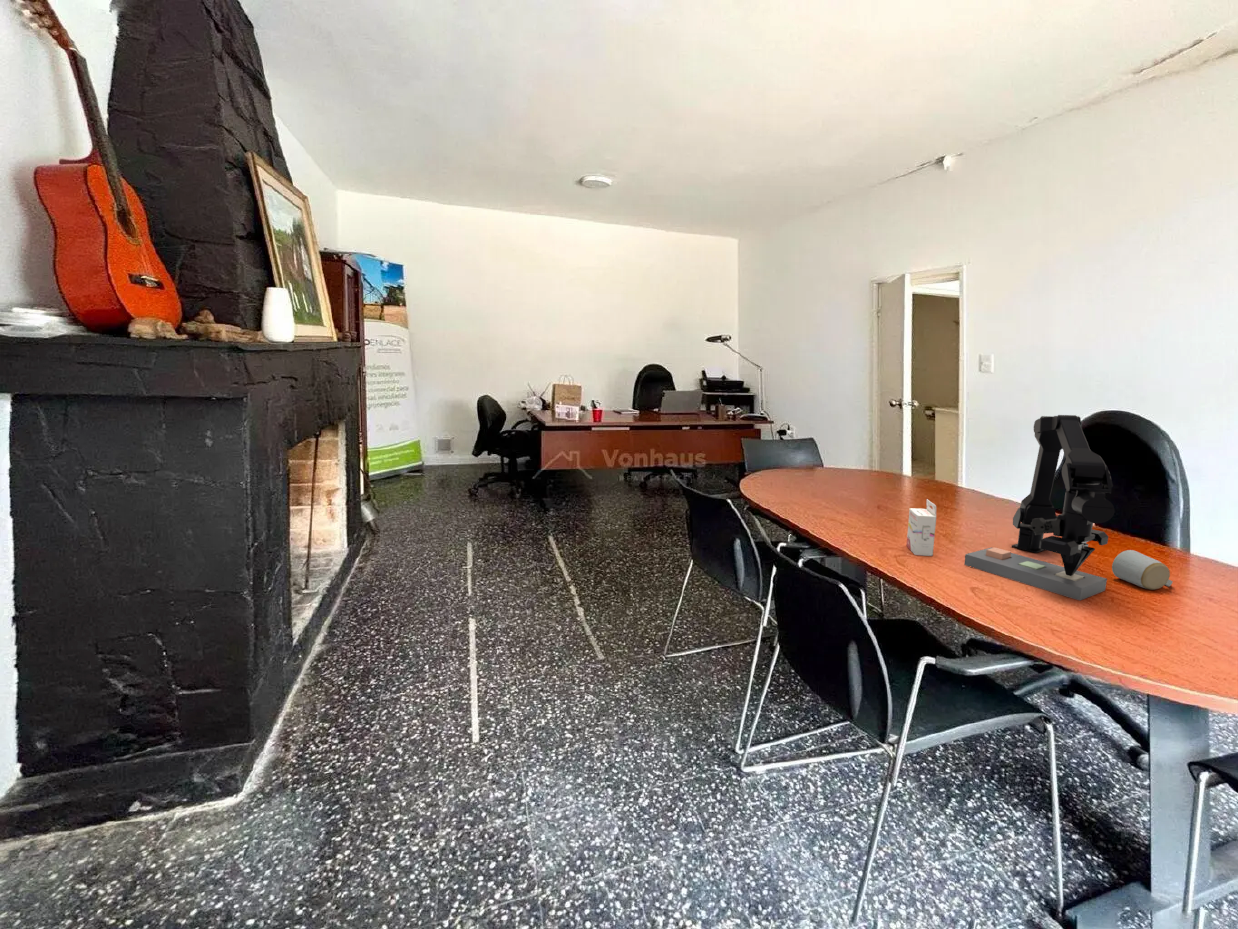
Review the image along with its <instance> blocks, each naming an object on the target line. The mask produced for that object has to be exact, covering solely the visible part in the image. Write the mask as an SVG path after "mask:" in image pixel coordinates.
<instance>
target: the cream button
mask: <svg viewBox="0 0 1238 929" xmlns="http://www.w3.org/2000/svg"><path fill="white" fill-rule="evenodd" d="M1055 575H1056V576H1059V577H1063V578H1067V579H1070V580H1074V581H1078V580H1080V579H1083V577H1084V576H1080V575H1077V574H1073V575H1072V576H1069V575H1066V573H1065V571H1062V572H1059V573H1057V574H1055Z"/></svg>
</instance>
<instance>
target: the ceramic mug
mask: <svg viewBox="0 0 1238 929" xmlns="http://www.w3.org/2000/svg"><path fill="white" fill-rule="evenodd" d="M1111 569H1112V573H1113V575H1114V576H1115V577H1116V578H1118V579H1121V580H1123V581H1125V582H1128V583H1130V584H1133V585H1136V586H1138V587H1140V588H1143V589H1146V590H1152V591H1154V590H1159V589H1161V588H1163V587H1164V586H1166V587H1171V586H1172V584H1173V582H1174V581H1173V580H1170V576H1171V573H1170V569H1169V567H1168V566H1167V565H1166V564H1165V563H1162V562H1161V561H1160V560H1157V559H1154V558H1152V557H1151V556H1147V555H1145V554H1143V553H1141V552H1139V551H1136V550H1133V549H1127V550H1124V551H1121V552H1120V553H1118V554H1117V556H1116V557H1115V558H1114V559H1113V562H1112V563H1111Z"/></svg>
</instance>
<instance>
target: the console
mask: <svg viewBox="0 0 1238 929" xmlns="http://www.w3.org/2000/svg"><path fill="white" fill-rule="evenodd" d="M991 548H993V547H988V548H984V549H980V550H977V551H971V552H969V553H965V555H964V565H963V566H967V567H969V566H971V567H970V568H973V567H974V568H973V569H976V570H980V571H984V572H985V573H990V574H993V575H996V576H998V577H1003V578H1005V579H1008V580H1013V581H1015V582H1019V583H1022V584H1025V585H1028V586H1030V587H1031V586H1032V587H1034V588H1037V589H1041V590H1044V591H1047V592H1051V593H1055V594H1058V595H1060V596H1064V597H1067V598H1070V599H1074V600H1077V601H1082V600H1085V599H1087V598H1090V597H1092V596H1096V595H1098V594H1100V593H1102V592H1105V591H1106V586H1107V581H1108V579H1107V577H1102V576H1099V575H1095V574H1092V573H1089V572H1084V571H1080V570H1077V571H1076V572H1075V573H1074V574H1077V575H1080V576H1084V577H1083V579H1080V580H1078V581H1074V580H1070V579H1067V578H1063V577H1059V576H1056V575H1055V574H1057V573H1059V572H1062V571H1065V569H1064V566H1062V565H1058V564H1054V563H1051V562H1046V561H1044V560H1043V561H1042V560H1040V559H1035V558H1032V557H1028V556H1025V555H1021V554H1017V553H1013V552H1011V558H1009V559H1005V560H1000V559H996V558H993V557H989V556H986V550H988V549H991ZM1026 561H1029V562H1033V563H1037V564H1040V565H1044V566H1045V568H1042V569H1039V570H1035V569H1031V568H1028V567H1024V566H1021V565H1019V563H1023V562H1026Z"/></svg>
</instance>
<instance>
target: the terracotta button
mask: <svg viewBox="0 0 1238 929" xmlns="http://www.w3.org/2000/svg"><path fill="white" fill-rule="evenodd" d="M990 548H991V547H990ZM1011 553H1012V551H1010V550H1007V549H1002V548H998V547H992V548H991V549H988V550H986V556H989V557H993V558H996V559H1000V560H1005V559H1009V558H1011Z"/></svg>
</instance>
